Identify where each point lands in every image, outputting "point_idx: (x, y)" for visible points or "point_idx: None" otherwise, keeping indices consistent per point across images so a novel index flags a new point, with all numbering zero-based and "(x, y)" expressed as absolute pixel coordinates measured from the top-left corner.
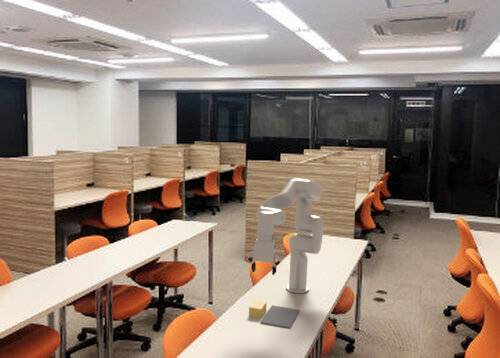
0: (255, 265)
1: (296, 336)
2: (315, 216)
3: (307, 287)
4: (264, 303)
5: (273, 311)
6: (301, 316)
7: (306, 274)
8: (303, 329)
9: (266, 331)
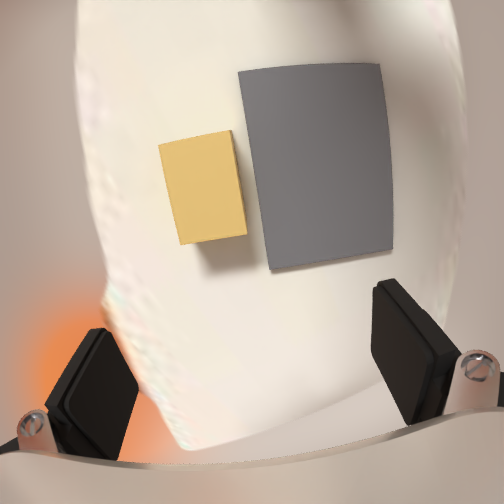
0: (86, 385)
1: (416, 284)
2: None
3: None
4: (228, 153)
5: (276, 136)
6: (400, 112)
7: None
8: (430, 224)
9: (315, 307)
